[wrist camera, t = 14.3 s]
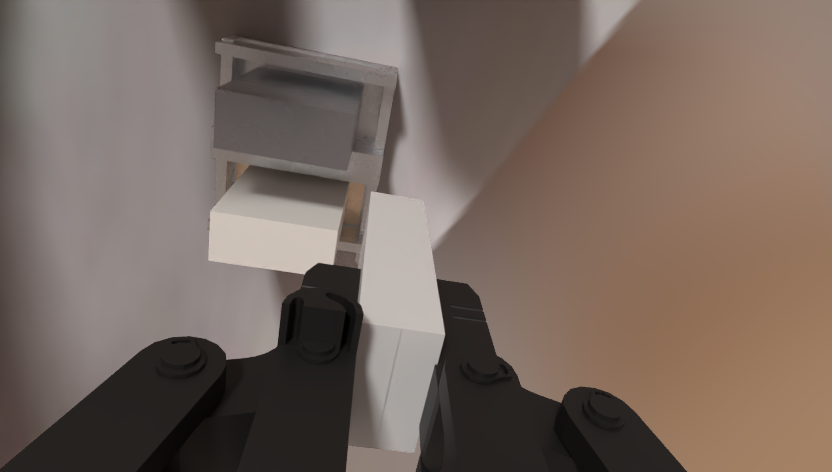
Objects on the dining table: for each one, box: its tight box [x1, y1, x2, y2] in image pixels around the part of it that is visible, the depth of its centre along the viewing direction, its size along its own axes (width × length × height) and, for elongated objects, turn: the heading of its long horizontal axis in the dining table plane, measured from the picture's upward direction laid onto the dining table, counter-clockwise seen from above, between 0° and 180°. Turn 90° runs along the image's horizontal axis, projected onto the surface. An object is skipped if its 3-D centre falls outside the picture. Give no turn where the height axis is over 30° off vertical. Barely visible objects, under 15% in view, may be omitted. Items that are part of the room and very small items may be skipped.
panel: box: [209, 165, 349, 274], centre depth 39 cm, size 8×4×11 cm, turn 79°
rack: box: [208, 35, 398, 263], centre depth 38 cm, size 13×16×12 cm
